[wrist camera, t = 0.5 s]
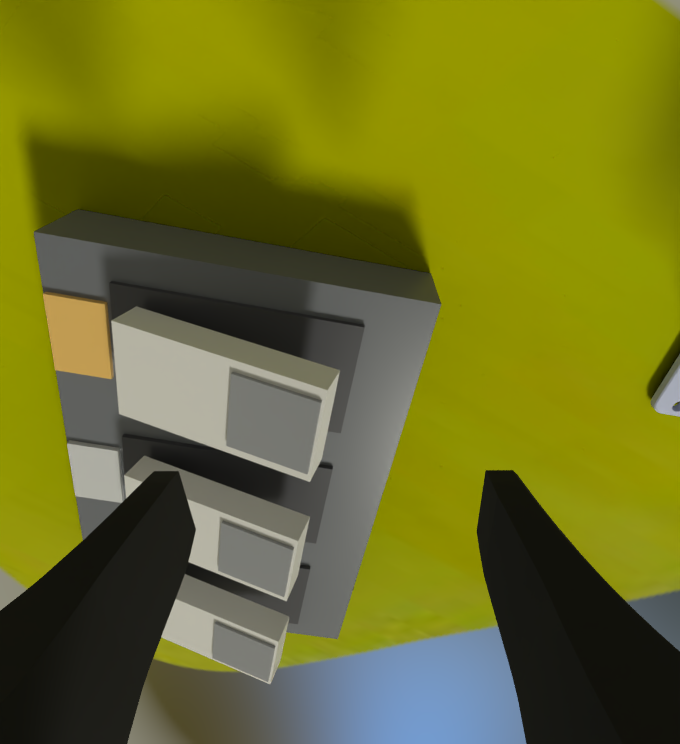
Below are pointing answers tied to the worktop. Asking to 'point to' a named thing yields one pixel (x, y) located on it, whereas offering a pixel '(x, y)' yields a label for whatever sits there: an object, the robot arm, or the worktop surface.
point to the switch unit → (256, 325)
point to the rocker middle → (237, 531)
